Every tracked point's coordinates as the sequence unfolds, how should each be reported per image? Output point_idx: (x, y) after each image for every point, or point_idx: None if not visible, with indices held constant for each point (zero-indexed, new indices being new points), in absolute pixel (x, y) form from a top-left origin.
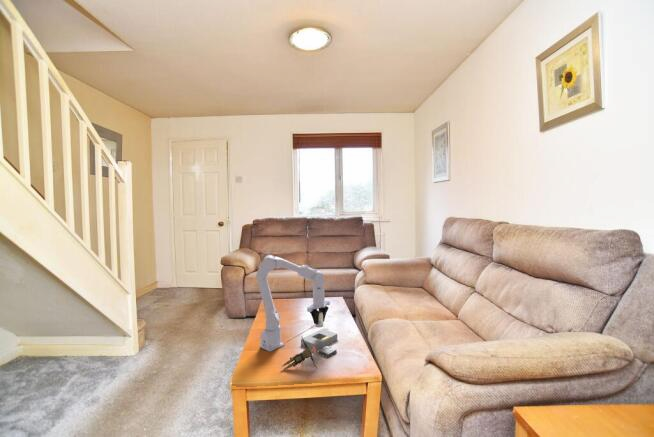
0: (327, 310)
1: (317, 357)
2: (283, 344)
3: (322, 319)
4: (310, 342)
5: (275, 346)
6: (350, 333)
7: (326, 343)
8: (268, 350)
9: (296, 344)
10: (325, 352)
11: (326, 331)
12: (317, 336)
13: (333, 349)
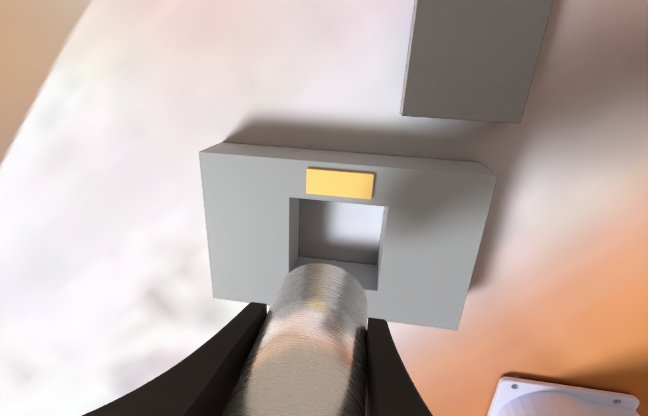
0: (108, 404)
1: (577, 79)
2: (514, 383)
3: (299, 322)
4: (477, 239)
5: (581, 403)
6: (74, 124)
7: (350, 155)
8: (636, 408)
9: None
10: (532, 34)
11: (226, 252)
12: None
13: (436, 9)
